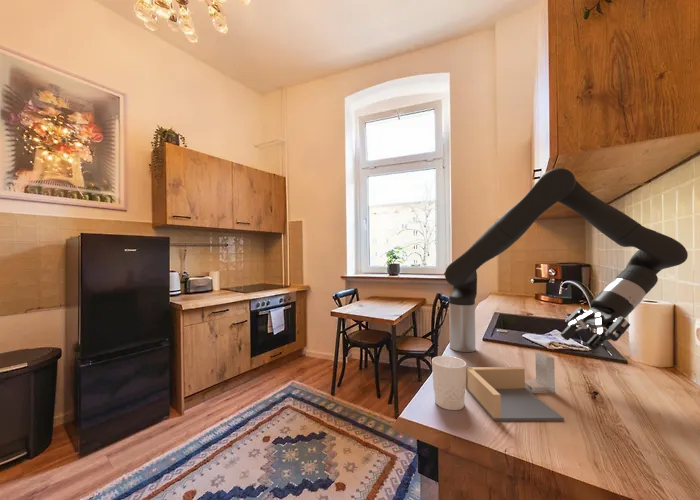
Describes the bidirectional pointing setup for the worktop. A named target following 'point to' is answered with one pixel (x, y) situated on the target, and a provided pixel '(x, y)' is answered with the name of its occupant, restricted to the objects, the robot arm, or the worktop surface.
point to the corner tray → (506, 395)
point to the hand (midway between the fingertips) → (575, 342)
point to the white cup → (449, 382)
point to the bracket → (542, 375)
